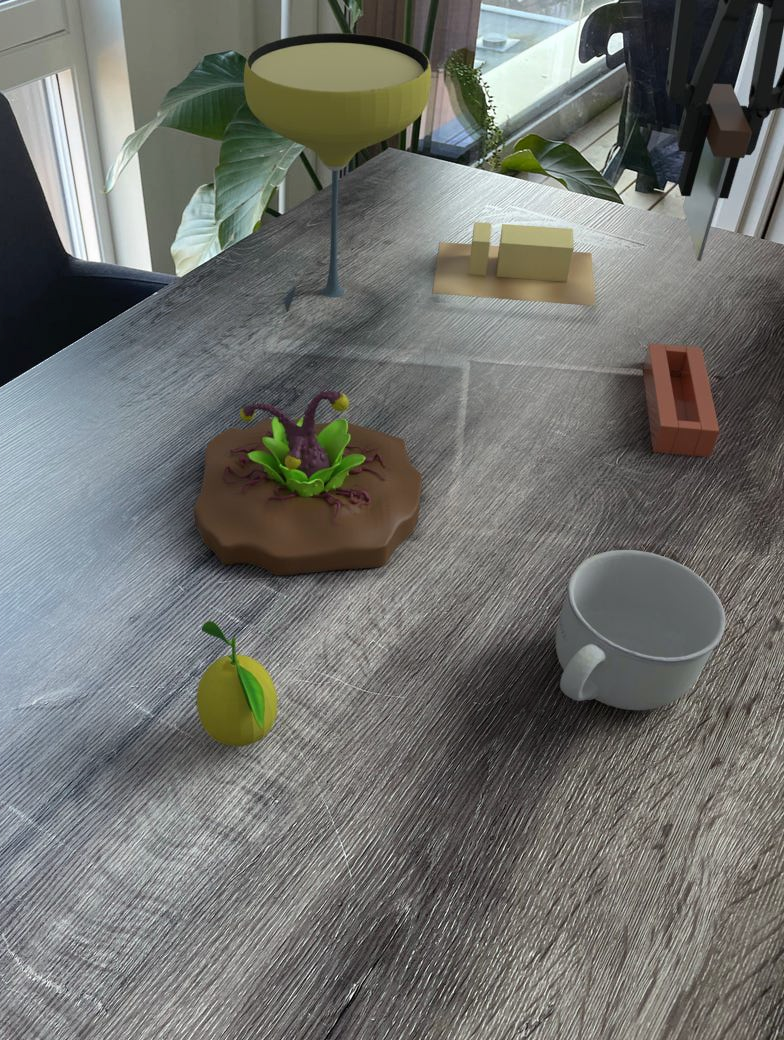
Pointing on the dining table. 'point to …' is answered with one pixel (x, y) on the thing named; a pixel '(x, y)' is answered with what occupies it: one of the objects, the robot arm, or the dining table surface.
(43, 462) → the dining table surface
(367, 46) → the cocktail glass
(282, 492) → the plant
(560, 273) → the butter
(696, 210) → the knife
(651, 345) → the knife stand
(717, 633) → the teacup
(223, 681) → the lemon
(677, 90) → the robot arm
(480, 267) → the butter slice
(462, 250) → the board
